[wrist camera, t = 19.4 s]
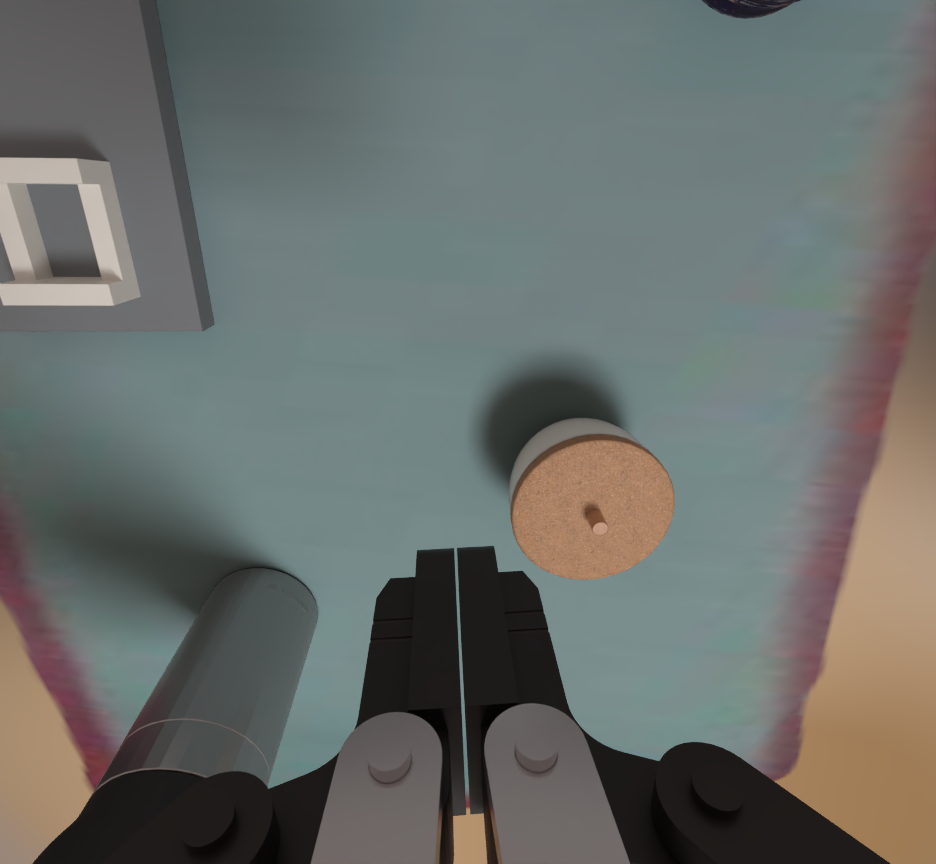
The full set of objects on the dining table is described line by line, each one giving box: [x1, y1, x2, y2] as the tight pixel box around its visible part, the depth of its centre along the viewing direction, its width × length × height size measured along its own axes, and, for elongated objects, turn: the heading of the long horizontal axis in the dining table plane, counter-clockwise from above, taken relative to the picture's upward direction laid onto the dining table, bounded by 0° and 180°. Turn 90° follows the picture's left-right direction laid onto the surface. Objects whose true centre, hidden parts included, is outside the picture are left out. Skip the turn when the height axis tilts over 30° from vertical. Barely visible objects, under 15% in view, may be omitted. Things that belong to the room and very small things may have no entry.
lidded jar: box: [509, 418, 675, 580], centre depth 38 cm, size 11×11×9 cm
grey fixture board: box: [0, 0, 214, 331], centre depth 28 cm, size 28×13×6 cm, turn 179°
